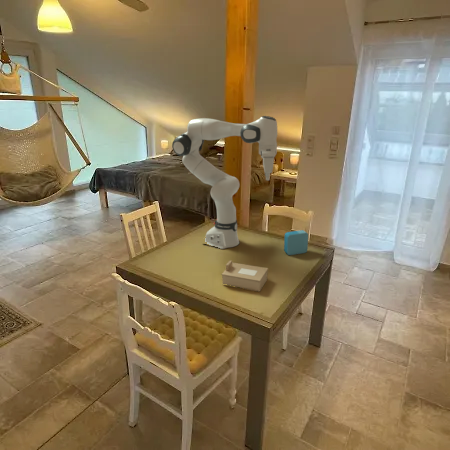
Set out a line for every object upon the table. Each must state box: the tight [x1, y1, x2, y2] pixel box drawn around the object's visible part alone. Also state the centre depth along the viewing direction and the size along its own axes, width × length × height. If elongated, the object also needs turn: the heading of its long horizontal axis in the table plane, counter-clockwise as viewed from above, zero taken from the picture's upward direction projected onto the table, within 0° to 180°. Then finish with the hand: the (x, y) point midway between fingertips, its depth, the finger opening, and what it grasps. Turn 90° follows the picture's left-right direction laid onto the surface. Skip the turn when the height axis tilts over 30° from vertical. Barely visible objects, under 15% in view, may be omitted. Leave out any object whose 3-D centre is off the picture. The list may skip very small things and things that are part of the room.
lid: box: [221, 260, 269, 282], centre depth 163 cm, size 18×13×4 cm
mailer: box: [221, 270, 268, 293], centre depth 164 cm, size 18×12×5 cm, turn 67°
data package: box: [283, 229, 309, 256], centre depth 192 cm, size 12×4×12 cm, turn 105°
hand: (267, 178), depth 178 cm, fingers open, 8 cm apart
